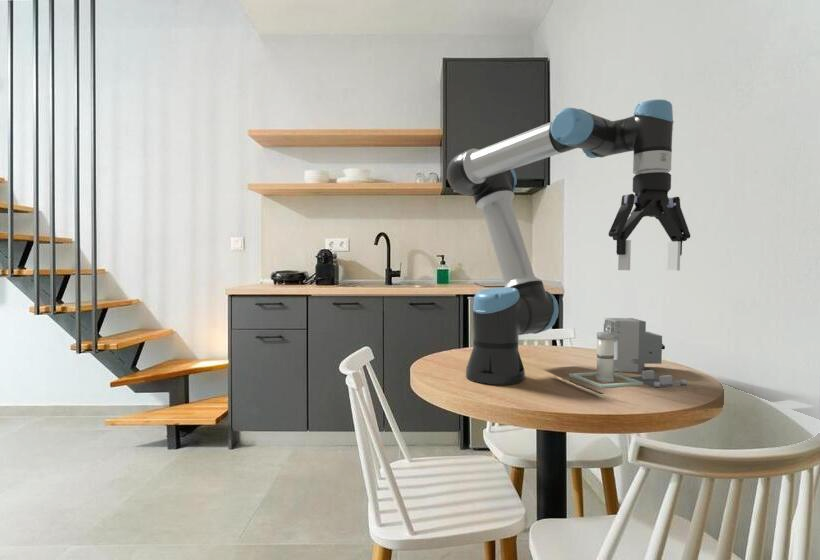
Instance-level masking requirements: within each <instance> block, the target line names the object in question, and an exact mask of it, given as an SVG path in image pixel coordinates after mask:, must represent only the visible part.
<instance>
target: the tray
mask: <svg viewBox="0 0 820 560" xmlns="http://www.w3.org/2000/svg"><path fill="white" fill-rule="evenodd" d="M596 375H597V371H590V372H588V371H587V372H577V373H575V372H574V373H569V374H568V377H570V378H574V379H576V380H579V381H582V382H584V383H586V384H589V385H593V386H594V387H597V388H599V389H607V388H608V389H609V388H618V387H629V386H631V387H632V386H642V385H644V384H643V382H641V381H638V380H635V379H631V378H629V377H628V376H625V375H621V374H618V373H616V372H614V375H613V376H614V378H617V379H621V380H624V381H626V382H615V383H613V382H612V383H604V384H603V383H599V382H598V381H597V382H596V381H593V380H591V379H588V378H586V377H589V376H591V377H592V376H596ZM568 383H571V384H574V385H577V386H579V387H582V388H584V389H587V390H589V391H591V392H594V393H597V394H598V395H605V393H604V392H601V391H598V390H596V389H593V388H590V387H588V386H585V385H584V384H581V383H578V382H575V381H573V380H570V379H569V380H568Z"/></svg>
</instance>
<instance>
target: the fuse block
mask: <svg viewBox="0 0 820 560" xmlns="http://www.w3.org/2000/svg"><path fill="white" fill-rule="evenodd" d="M641 373H642V375H641V376H632V377H631V376H629V377H628V378H631V379H635V380H638V381H641V382H643V385H646V386H649V387H652V388H655V389H661V388H663V389H664V388H673V387H684V386H686V387H687V386H690V384H688V383H687V381H688V380H687V379H680V381H678V380H674V379H673V375H670V374H666V375H664V374H663V375H658V374H657V375H655V370H653V369H650V370H649V369H646V370H644V371H642V372H641Z"/></svg>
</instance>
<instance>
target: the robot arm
mask: <svg viewBox="0 0 820 560" xmlns="http://www.w3.org/2000/svg"><path fill="white" fill-rule="evenodd" d="M633 111H634V112H633V116H632V115H631V116H629V117H626V118H621V119H617V120H611V119H607V118H604V117H602V116H598V115H596V114H593V113H591V112H588V111H586V110H584V109H582V108H576V107H565V108H563V109H561V110H560V111H559V112H558V113H557V114H556V115H555V116H554V117H553V119H552V121H550V122H547V123H544V124H542V125H540V126H537V127H535V128H532V129H529V130H527V131H524V132H522V133H520V134H517V135H514V136H511V137H509V138H506V139H504V140H501V141H498V142H496V143H493V144H491V145H488V146H486V147H483V148H481V149H480V148H479V149H477V148H470V149H467V150H465V151H463V152H461V153H458V154H457V155H455V156H454V157H453V158H452V159H451V160H450V162H449V164H448V165H447V168H446V169H447V170H446V179H447V182H448V184H449V186H450V188H451V189H452V190H453V191H455V192H456V193H458V194H460V195H463V196H469V197H473V200H474V202H475V206H476V208H477V209H478V210H480V211H481V212H483V215H484V219H485V222H486V225H487V228H488V233H489V237H490V239H491V242H492V245H493V249H494V251H495V252H494V253H495V257H496V259H497V262H498V265H499V268H500V273H501V276H502V279H503V282H504V287H492V288H485V289H482V290H479V291H477V292H476V293H475V294H474V296H473V305H472V310H473V312H472V313H473V316H472V318H473V319H472V320H473V321H472V322H473V323H472V329H473V330H472V331H473V332H472V333H473V334H472V337H473V338H472V343H473V344H472V349H471V353H470V356H469V359H468V361H467V365H466V369H465V377H466V378H467V379H468V380H469V379H470V380H469V381H472V380H473V382H475V381H476V382H475V383H479V382H480V384H485V383H487V384H486V385H515V384H520V383H522V382H524V381H525V377H526V375H525V374H526V372H525V371H526V370H525V368H524V365H523V364H524V363H523V361H522V358H521V355H520V352H519V336H522V335H529V334H539V333H542V332H546V331H548V330H549V329H551V328H553V326H554V325H555V324H556V321H557V319H558V317H559V304H558V300H557V299H556V297H555V295H554V294H552V293H550V292H549V291H547V290H546V289H545V286H544V283H543V280H542V279H540V278H538V277H536V276H535V273H534V270H533V267H532V265H531V261H530V257H529V255H528V251H527V248H526V243H525V242H524V239H523V236H522V231H521V229H520V225H519V223H518V220H517V215H516V213H515V210H514V207H513V204H512V201H513V199H514V198H515V190H516V185H517V182H518V181H517V174H516V172H515V170H514V169H517V168H520V167H524V166H527V165H529V164H533V163H535V162H538V161H541V160H544V159H547V158H549V157H550V158H551V157H553V156H556V155H560V154H562V153H566V152H569V151H572V150H575V149H581V150H582V152H583V154H585V155H586V157H587V158H590V159H592V158H593V159H595V158H605V157H608V156H612V155H618V154H619V155H620V154H623V153H628V152H633V161H632V162H633V163H632V166H633V167H632V173H633V174H634V176H633V178H632V192H633V193H628V194H625V195H622V196H621V202H620V207H619V209H618V212H617V213H616V215H615V218H614V220H613V222H612V225H611V227H610V230H609V231H608V236H609V237H610V238H612V240H613V241H616V255H617V256H618V260H617V261H618V265H617V270H618V271H631V249H632V248H631V246H632V244H631V243H632V240H631V239H628V238H629V237H630V235H631V234H632V232H634V230H635V229H636V228H637V226H638V225H639V223H640V221H641V220H642V219H643V218H645V217H650V218H655V219H656V220H658V222H659V223H660V224H661V226H662V228H663V229H664V231H665V233H666V234H667V236H668V237H669V239H670V241H668V242H667V268H666V270H667V271H678V272H679V271H681V256H682V255H683V242H687V240H688V239H690V238H691V233H690V230H689V227H688V224H687V222H686V217H685V216H684V213H683V210H682V206H681V198H680V197H679V196H672V197H669V196H668V194H669V191H670V190H671V188H672V174H671V173H670V172H671V171H672V153H673V152H672V151H673V129H674V127H673V126H674V117H673V116H674V115H673V114H674V113H673V112H674V111H673V104H672V103H671V102H670V101H668V100H667V99H650V100H645V101H642V102H641V103H638V104H637V105H635V107H634V110H633ZM634 206H635V207H634Z"/></svg>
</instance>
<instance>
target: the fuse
mask: <svg viewBox="0 0 820 560" xmlns="http://www.w3.org/2000/svg"><path fill="white" fill-rule="evenodd" d="M614 338H615V334H614V333H607V332H603V331H602V332H601V331H600V332H597V333H596V339H597V342H596V346H597V347H596V372H597V375H595V377H596V381H597V382H603V383H613V382H615V377H614V376H613V375H614V373H615V371H614Z"/></svg>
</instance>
